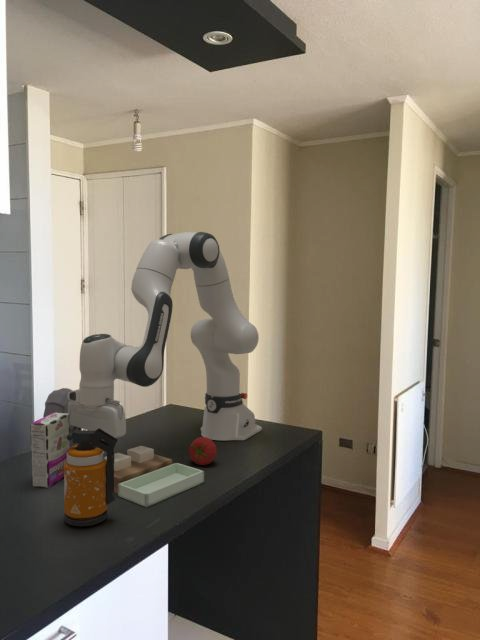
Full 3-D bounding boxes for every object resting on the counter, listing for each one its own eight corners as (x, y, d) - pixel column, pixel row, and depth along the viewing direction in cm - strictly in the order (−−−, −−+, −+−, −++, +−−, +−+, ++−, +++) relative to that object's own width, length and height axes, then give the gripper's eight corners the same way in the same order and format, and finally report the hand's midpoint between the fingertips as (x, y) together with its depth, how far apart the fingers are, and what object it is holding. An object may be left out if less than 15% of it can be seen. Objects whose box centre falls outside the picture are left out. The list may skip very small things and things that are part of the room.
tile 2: (141, 454, 151) (141, 445, 150) (153, 458, 148) (153, 449, 147) (127, 459, 147) (127, 449, 146) (139, 463, 144) (139, 453, 143)
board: (141, 464, 154) (141, 450, 154) (172, 474, 147) (172, 459, 147) (89, 482, 140) (88, 467, 140) (119, 494, 133) (119, 478, 133)
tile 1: (118, 461, 144) (118, 452, 144) (131, 466, 141) (131, 456, 141) (103, 466, 140) (103, 457, 140) (115, 471, 137) (115, 461, 137)
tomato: (207, 430, 159) (196, 432, 152) (225, 449, 157) (215, 452, 149) (190, 449, 160) (178, 452, 153) (207, 469, 158) (196, 473, 150)
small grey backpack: (65, 446, 169) (64, 382, 168) (90, 448, 168) (90, 384, 166) (39, 462, 155) (38, 392, 153) (66, 464, 153) (65, 394, 152)
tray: (176, 473, 148) (176, 462, 147) (204, 482, 141) (204, 471, 141) (117, 496, 132) (117, 484, 132) (146, 507, 126) (146, 494, 125)
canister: (70, 511, 123) (69, 424, 121) (119, 510, 124) (119, 423, 122) (59, 529, 114) (58, 435, 113) (113, 528, 115) (113, 435, 113)
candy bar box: (54, 471, 148) (53, 411, 146) (71, 473, 147) (70, 413, 145) (30, 486, 137) (29, 422, 135) (48, 488, 136) (47, 423, 134)
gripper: (132, 400, 140) (131, 452, 141) (83, 389, 153) (82, 437, 154) (112, 403, 135) (112, 458, 136) (63, 392, 148) (63, 442, 149)
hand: (96, 447), depth 145 cm, fingers closed
